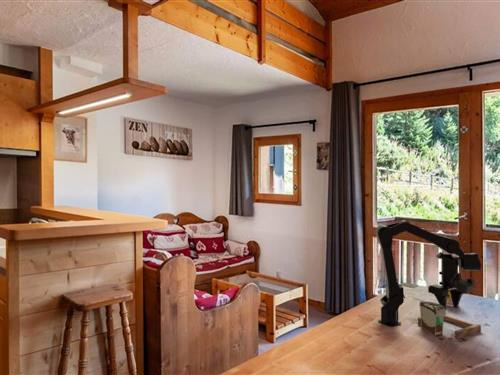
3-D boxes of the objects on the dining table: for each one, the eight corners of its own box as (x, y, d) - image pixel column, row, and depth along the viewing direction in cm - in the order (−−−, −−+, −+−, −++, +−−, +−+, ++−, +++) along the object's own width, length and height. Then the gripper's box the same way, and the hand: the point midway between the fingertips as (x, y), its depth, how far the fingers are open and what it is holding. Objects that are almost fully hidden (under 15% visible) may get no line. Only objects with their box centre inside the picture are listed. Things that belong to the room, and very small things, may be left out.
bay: (457, 338, 135) (457, 331, 135) (417, 323, 150) (417, 317, 150) (480, 331, 142) (480, 325, 142) (440, 317, 157) (440, 312, 157)
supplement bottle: (439, 304, 175) (439, 276, 175) (449, 302, 178) (449, 275, 178) (452, 308, 169) (452, 280, 169) (462, 306, 172) (462, 278, 172)
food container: (453, 337, 136) (453, 310, 136) (437, 338, 136) (437, 311, 136) (434, 325, 148) (433, 300, 148) (419, 325, 148) (419, 300, 148)
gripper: (454, 276, 135) (454, 319, 135) (484, 271, 143) (484, 311, 143) (427, 270, 145) (427, 310, 145) (457, 266, 153) (457, 303, 153)
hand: (449, 309), depth 146 cm, fingers open, 7 cm apart
